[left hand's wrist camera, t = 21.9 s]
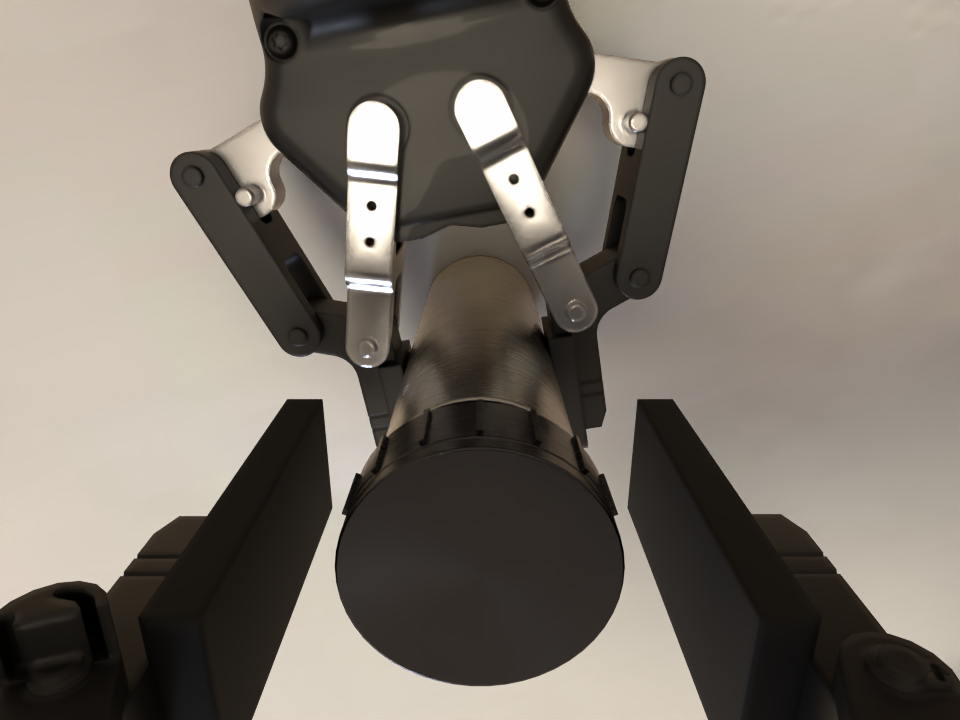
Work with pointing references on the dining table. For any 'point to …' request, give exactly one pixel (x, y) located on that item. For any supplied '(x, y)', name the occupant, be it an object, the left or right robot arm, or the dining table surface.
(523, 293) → the grey metal cylinder
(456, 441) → the lid
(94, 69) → the dining table surface
